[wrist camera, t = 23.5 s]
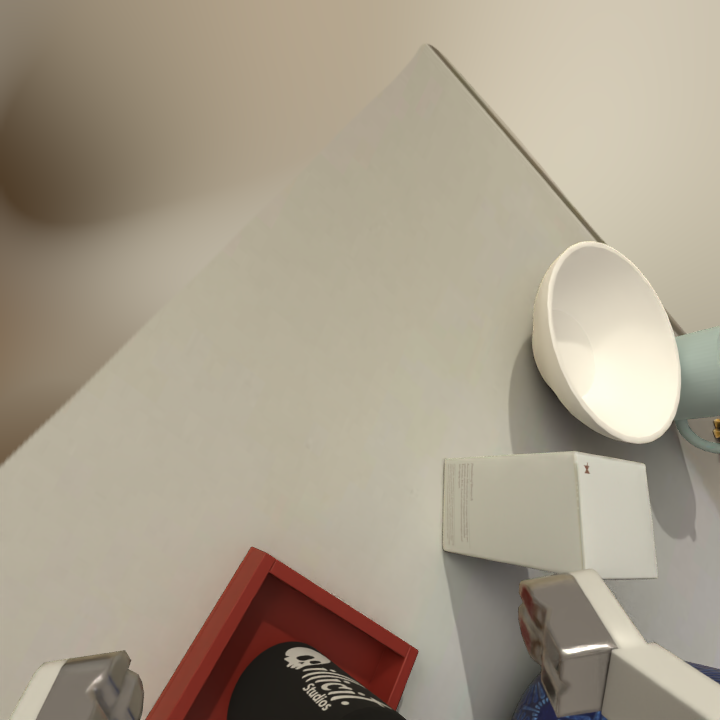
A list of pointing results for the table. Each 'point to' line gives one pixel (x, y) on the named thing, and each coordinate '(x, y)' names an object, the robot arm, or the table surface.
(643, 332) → the bowl
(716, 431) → the figurine
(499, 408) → the table surface
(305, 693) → the beverage can
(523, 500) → the white packaging box
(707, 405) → the mug
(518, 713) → the planter
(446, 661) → the table surface
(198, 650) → the tray
